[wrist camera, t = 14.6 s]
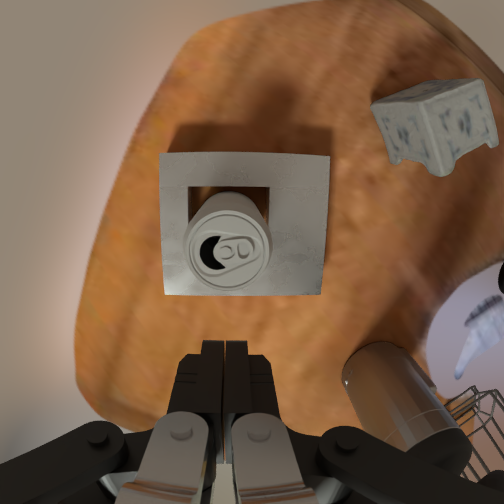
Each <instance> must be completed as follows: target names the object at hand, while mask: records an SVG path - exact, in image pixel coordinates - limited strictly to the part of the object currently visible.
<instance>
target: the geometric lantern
mask: <svg viewBox="0 0 504 504" xmlns="http://www.w3.org/2000/svg"><path fill="white" fill-rule="evenodd" d="M473 388H474V389H473ZM470 389H471V390H472V391H473V392H474V395H473V396H472V397H470V398H469V399H468V400H466V401H465V402H463V403H462V404H460V405H459V406H457V407H456V408H454V409H453V410H451V411H450V412H449V411H448V410H447V409H446V410H447V411H448V412H449V414H450V413H451V412H453V411H454V410H456V409H457V408H459V407H460V406H462V405H463V404H465V403H466V402H468V401H469V400H470V399H472V398H473V397H474V401H473V402H472V403H470V404H468V405H467V406H465V407H464V408H462V409H460V410H459V411H457V412H456V413H454V414H452V415H451V416H452V418H453V417H454V416H456V415H457V414H459V413H461V412H462V411H464V410H465V409H467V408H469V407H470V406H472V405H473V404H474V405H473V406H472V408H471V409H470V410H468V411H467V412H466V413H464V414H463V415H461V416H460V417H459V418H457V419H456V420H455V422H456V421H457V420H459V419H460V418H461V417H463V416H464V415H465V414H467V413H468V412H469V411H471V410H473V412H474V413H475V414H474V415H473V416H472V417H470V418H469V419H467V420H466V421H465V422H463V423H462V424H461V425H458V426H459V427H460V426H462V425H463V424H465V423H466V422H467V421H469V420H470V419H471V418H473V417H474V416H475V415H476V416H477V417H478V418H479V420H480V421H481V423H482V424H483V425H482V426H481V427H479V428H478V429H477V430H475V431H474V432H472V433H471V434H469V435H468V436H467V438H469V437H470V436H472V435H473V434H474V433H476V432H477V431H479V430H480V429H482V428H483V429H484V430H485V432H486V433H487V435H488V436H489V438H490V439H491V441H492V442H493V444H494V445H495V447H496V448H497V450H498V451H499V453H500V455H501V456H502V458H503V459H504V454H503V453H502V451H501V450H500V448H499V447H498V445H497V444H496V442H495V440H494V439H493V437H492V436H491V434H490V433H489V432H488V430H487V429H486V427H485V425H486V424H487V423H488V422H489V421H490V420H492V421H493V423H494V425H495V426H496V428H497V429H498V431H499V433H500V434H501V436H502V437H503V439H504V434H503V432H502V431H501V429H500V428H499V426H498V424H497V423H496V422H495V420H494V418H493V412H494V407H495V403H496V402H497V404H498V405H499V406H500V408H501V409H502V410H503V411H504V406H503V405H502V404H501V403H500V401H499V400H498V399H497V395H498V396H499V398H500V399H501V400H502V402H503V403H504V398H503V397H502V395H501V394H500V393H499V391H498V390H497V389H494V390H488V391H483V392H479V391H478V390H477V389H476V386H475V385H474V386H471V387H470V388H468V389H467V390H466V391H464V392H463V393H462V394H460V395H459V396H458V397H456V398H455V399H453V400H452V401H451V402H449V403H448V404H446V405H445V406H444V407H445V408H446V406H448V405H449V404H451V403H452V402H454V401H455V400H456V399H458V398H459V397H460V396H462V395H463V394H465V393H466V392H467V391H468V390H470ZM476 392H477V393H476ZM493 392H495V395H494V394H493ZM483 393H485V394H484V395H482V396H481V397H480V394H483ZM477 394H478V399H476V395H477ZM488 394H490V395H491V396H492V397H493V399H494V401H493V406H492V411H491V415H490V414H487V413H485V412H483V411H480V400H481V399H482V398H484V397H485V396H487V395H488ZM476 402H478V407H477V405H476ZM474 406H475V407H476V408H477V409H478V411H477V412H475V410H474V409H473V408H474ZM478 412H480V413H483V414H485V415H488V416H490V418H489V419H488V420H487V421H486V422H485V423H483V421H482V420H481V418H480V417H479V415H478V414H477V413H478ZM453 419H454V418H453ZM456 423H457V422H456ZM461 430H462V429H461ZM471 445H472V444H471ZM472 451H473V452H474V454H475V456H476V457H477V458H478V460H479V461H480V463H481V464H482V466H483V468H484V469H485V470H486V472H487V474H488V473H490V470H489V469H488V467H487V466H486V465H485V463H484V461H483V460H482V458H481V457H480V455H479V454H478V452H477V451H476V450H475V448H474V447H473V445H472ZM467 466H468V467H469V469H470V470H471V472H472V473H473V475H474V476H475V478H476V479H477V480H478V481H479V480H481V479H480V477H479V476H478V474H477V473H476V471H475V470H474V469H473V467H472V466H471V464H470V463H469V462H468V463H467ZM462 474H463V476H464V478H465V479H468V478H467V476H466V474H465V472H464V471H462ZM460 477H461V476H460ZM468 480H469V479H468Z"/></svg>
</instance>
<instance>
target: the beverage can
mask: <svg viewBox="0 0 504 504" xmlns="http://www.w3.org/2000/svg"><path fill="white" fill-rule="evenodd" d="M272 250H273V242H272V236H271V233H270V230H269V228H268V226H267V224H266V222H265V220H264V219H263V217H262V215H261V214H260V212H259V210H258V208H257V207H256V205H255V204H254V202H253V201H252V200H251V199H250V198H248V197H247V196H245V195H244V194H241V193H239V192H234V191H223V192H219V193H217V194H215V195H213V196H211V197H210V198H208V199H207V200H206V201H205V203H204V204H203V205H202V206H201V208H200V209H199V210H198V212H197V213H196V214H195V216H194V217H193V218H192V220H191V221H190V223H189V224H188V226H187V229H186V231H185V234H184V237H183V254H184V258H185V261H186V263H187V265H188V267H189V269H190V270H191V272H192V273H193V275H194V276H195V277H196V278H197V279H198V280H199V281H200V282H201V283H203V284H204V285H206V286H208V287H210V288H212V289H215V290H219V291H236V290H240V289H243V288H245V287H247V286H249V285H251V284H252V283H254V282H255V281H256V280H257V279H258V278H259V277H260V276H261V275H262V273H263V272H264V271H265V269H266V268H267V266H268V264H269V262H270V259H271V256H272Z"/></svg>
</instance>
